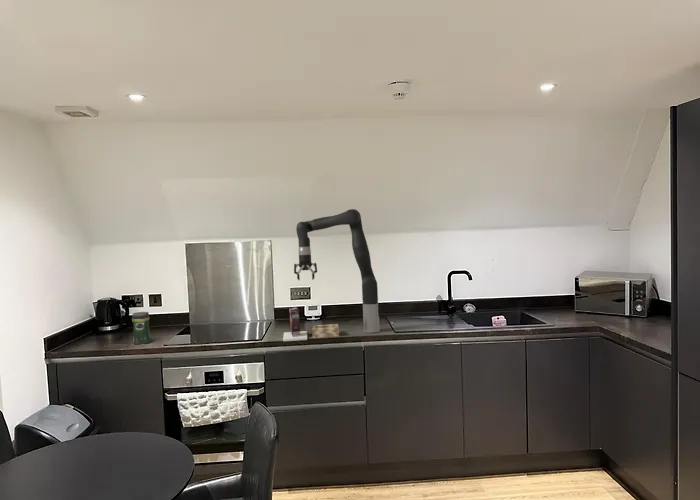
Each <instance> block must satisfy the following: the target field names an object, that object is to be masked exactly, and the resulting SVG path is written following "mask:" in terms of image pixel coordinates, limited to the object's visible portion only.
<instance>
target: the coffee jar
mask: <svg viewBox="0 0 700 500" xmlns="http://www.w3.org/2000/svg"><path fill="white" fill-rule="evenodd" d="M150 319H151V318H150V314H149V312H148V311H139V312H138V311H137V312H134V313H133V312H132V315H131V321H132V324H133V339H132V340H133V344H134V345H144V344H148V343H149V342H150V343H151V342H152V336H151V332H150Z"/></svg>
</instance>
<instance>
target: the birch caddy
mask: <svg viewBox="0 0 700 500" xmlns="http://www.w3.org/2000/svg"><path fill="white" fill-rule="evenodd" d="M311 331H312V339H316V338H331V337H333V338H334V337H339V336H340V328H339V325H338V323H333V324H331V323H330V324H318V325H312V326H311Z"/></svg>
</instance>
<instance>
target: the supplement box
mask: <svg viewBox="0 0 700 500" xmlns="http://www.w3.org/2000/svg"><path fill="white" fill-rule="evenodd" d="M289 324H290V325H289V326H290V332H291V335H292V336H293V337H296V336H300V331H301V326H300V310H299V308H298V307H289Z"/></svg>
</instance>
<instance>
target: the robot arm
mask: <svg viewBox="0 0 700 500" xmlns="http://www.w3.org/2000/svg"><path fill="white" fill-rule="evenodd" d="M344 225H345V226H346V225H348V226H349V228H350V232H351V245H352V246H351V247H352V253H353V256H354V258H355V261H356V264H357V267H358V269H359V271H360V276H361V291H362V292H361V293H362V294H361V297H362V299H361V300H362V316H363V317H362V318H363V320H362V321H363V332H364V333H368V334H370V333H371V334H372V333H373V334H374V333H378V332H379V333H380V332H381V331H380V329H381V327H380V316H379V293H378V282H377V279H376V277H375V274H374V271H373V267H372V262H371V261H372V260H371V254H370V251H369V245H368V242H367V239H366V236H365V233H364V230H363V224H362V216H361V213H360V212H359V211H358V210H357V209H356V208H354V209H353V208H352V209H347V210H346V211H344V212H341V213H338V214H335V215H329V216H324V217H319V218H315V219H312V220H306V221H299V222H298V223H297V224H296V235H297V239H298V263H294V264H293V267H294V268H293V273H294V274H295V275H296V276H297V277H296V278H297V280H298V281H300V279H301V278H300V273H301V272H302V271H310V272H311V278H312V279H311V280H314V279H315V274H317V273H318V266H317V262H313V263H312V249H311V240H310V237H309V236H308V235H309V234H308V233H311V232H314V231H319V230H326V229H328V228H332V227H336V226H344ZM312 266H313V267H314V270H313V268H312ZM298 267H299V270H298V271H297V268H298Z"/></svg>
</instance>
